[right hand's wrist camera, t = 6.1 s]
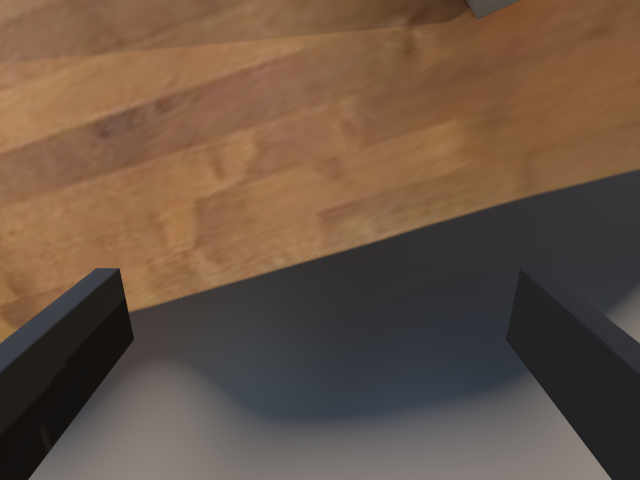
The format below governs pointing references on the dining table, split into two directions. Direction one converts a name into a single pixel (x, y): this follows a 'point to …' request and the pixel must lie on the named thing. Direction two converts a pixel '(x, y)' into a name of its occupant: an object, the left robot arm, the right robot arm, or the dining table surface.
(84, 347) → the right robot arm
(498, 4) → the hard drive box
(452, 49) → the dining table surface
